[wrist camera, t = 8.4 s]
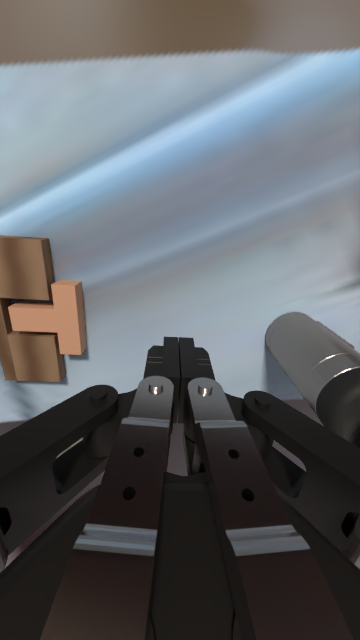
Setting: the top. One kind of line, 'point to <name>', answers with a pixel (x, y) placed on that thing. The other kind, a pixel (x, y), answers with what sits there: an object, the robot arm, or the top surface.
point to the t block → (55, 316)
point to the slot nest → (27, 283)
